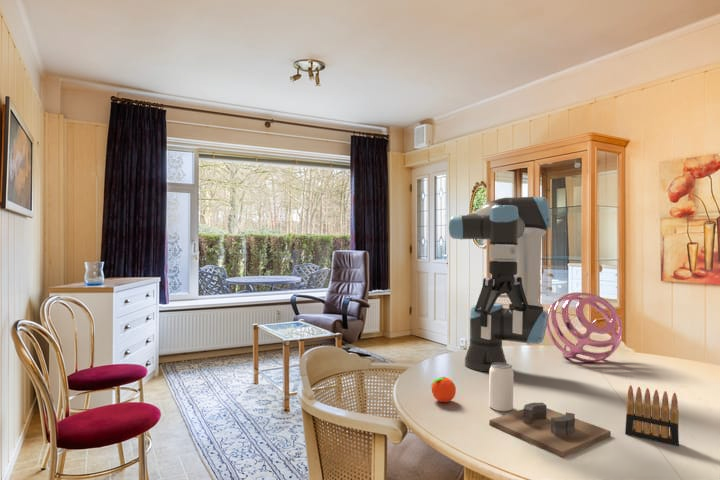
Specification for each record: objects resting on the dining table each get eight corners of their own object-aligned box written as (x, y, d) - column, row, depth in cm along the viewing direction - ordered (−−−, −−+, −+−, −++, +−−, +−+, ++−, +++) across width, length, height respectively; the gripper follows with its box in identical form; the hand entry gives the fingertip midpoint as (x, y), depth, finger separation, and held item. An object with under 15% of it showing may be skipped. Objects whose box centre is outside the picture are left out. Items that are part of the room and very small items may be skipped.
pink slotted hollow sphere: (537, 302, 199) (562, 272, 177) (601, 319, 195) (635, 291, 173) (532, 360, 184) (559, 335, 161) (601, 380, 180) (639, 358, 158)
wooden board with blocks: (489, 424, 112) (489, 406, 112) (537, 408, 123) (537, 392, 123) (563, 457, 96) (563, 435, 96) (610, 435, 107) (610, 416, 107)
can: (500, 413, 120) (501, 369, 119) (483, 405, 125) (484, 363, 125) (518, 409, 122) (518, 366, 122) (500, 402, 128) (501, 360, 128)
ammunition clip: (625, 434, 108) (625, 385, 108) (625, 431, 109) (626, 383, 109) (679, 446, 102) (679, 394, 102) (678, 443, 103) (679, 392, 103)
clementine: (436, 408, 123) (437, 382, 123) (423, 399, 129) (424, 375, 129) (460, 404, 126) (461, 379, 126) (446, 396, 132) (446, 372, 132)
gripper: (483, 261, 114) (482, 343, 114) (541, 260, 128) (540, 333, 128) (462, 260, 120) (460, 338, 120) (519, 259, 134) (518, 329, 134)
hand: (502, 336), depth 124 cm, fingers open, 13 cm apart
